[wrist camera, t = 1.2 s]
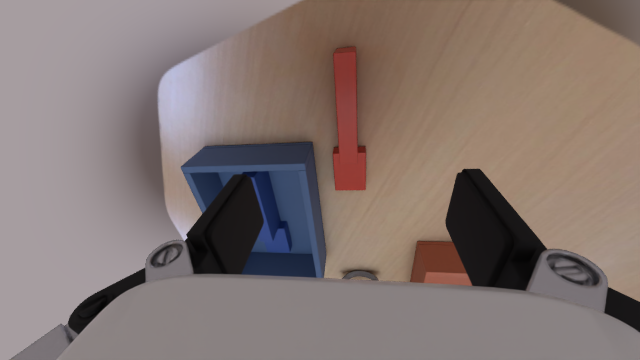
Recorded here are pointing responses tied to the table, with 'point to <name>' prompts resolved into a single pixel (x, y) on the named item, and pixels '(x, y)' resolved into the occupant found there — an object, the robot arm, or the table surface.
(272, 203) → the blue block-headed bar
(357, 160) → the red wooden stick
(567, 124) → the table surface
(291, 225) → the blue bin
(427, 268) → the terracotta bin
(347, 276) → the wristwatch
